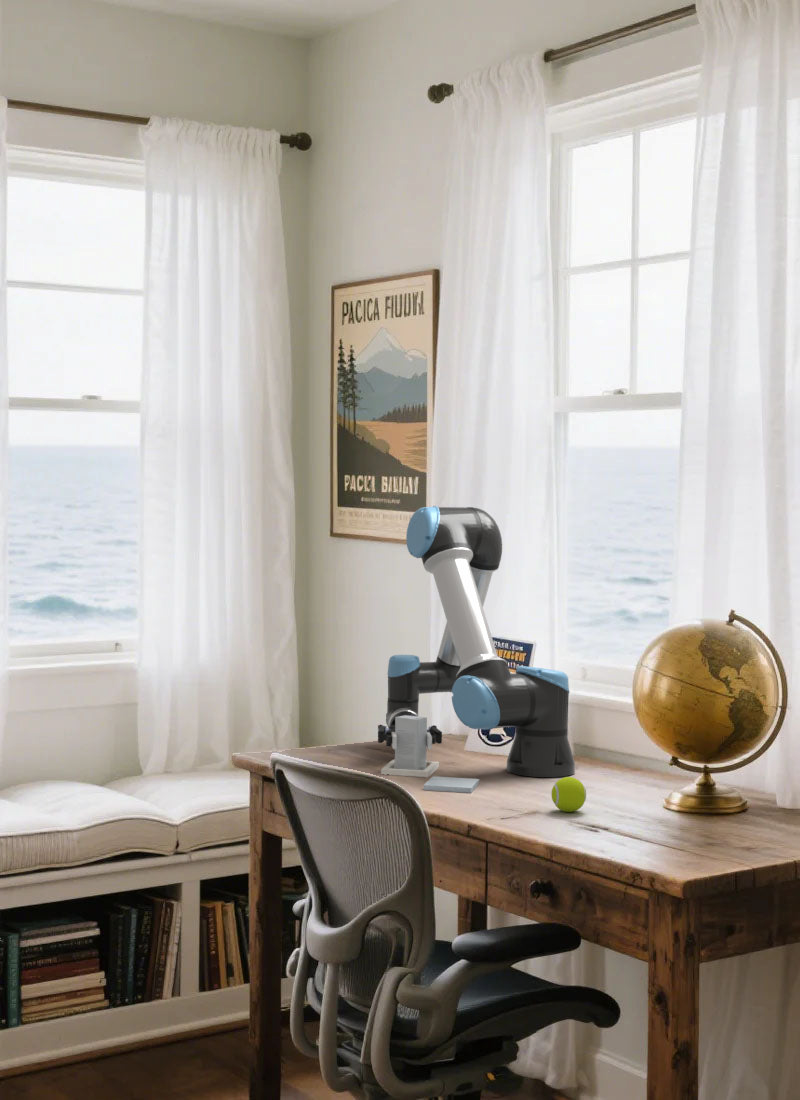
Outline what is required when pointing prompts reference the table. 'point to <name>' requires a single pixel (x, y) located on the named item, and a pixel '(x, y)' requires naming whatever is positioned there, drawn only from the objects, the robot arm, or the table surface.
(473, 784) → the coaster
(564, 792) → the tennis ball
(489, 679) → the robot arm
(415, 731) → the skincare box
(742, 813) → the table surface
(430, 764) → the grey base tray
